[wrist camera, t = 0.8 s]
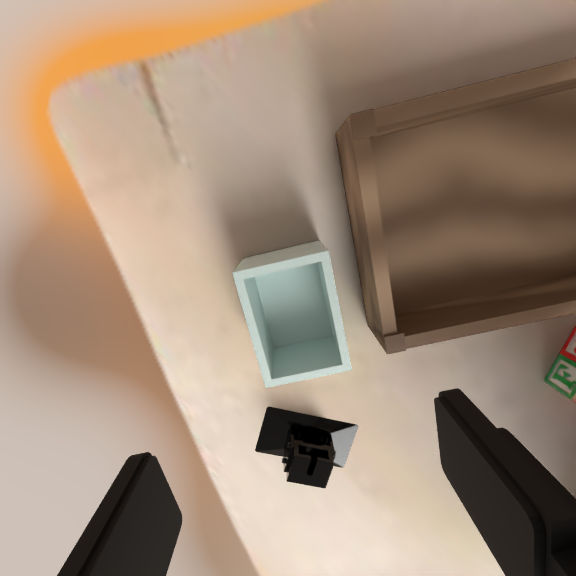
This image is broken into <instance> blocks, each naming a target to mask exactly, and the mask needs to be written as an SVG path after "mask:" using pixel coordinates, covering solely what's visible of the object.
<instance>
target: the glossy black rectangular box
mask: <svg viewBox="0 0 576 576" xmlns="http://www.w3.org/2000/svg"><path fill="white" fill-rule="evenodd" d="M357 429H358V425H355V424H351V423H346V422H341V421H336V420H331V419H326V418H322V417H317V416H312V415H307V414H302V413H297V412H292V411H288V410H283V409H278V408H273V407H267V409H266V413H265V417H264V420H263V424H262V427H261V431H260V435H259V438H258V442H257V445H256V449H255V451H256V452H261V453H267V454H272V455H277V456H283V457H284V458H283V459H282V463H284V472H287V481H288V482H293V483H299V484H304V485H310V486H315V487H321V488H326V485H327V483H328V480H329V477H330V474H331V471H332V469H333V466H337V467H344V465H345V463H346V460H347V457H348V454H349V451H350V448H351V446H352V443H353V440H354V437H355V434H356V432H357Z"/></svg>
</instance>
